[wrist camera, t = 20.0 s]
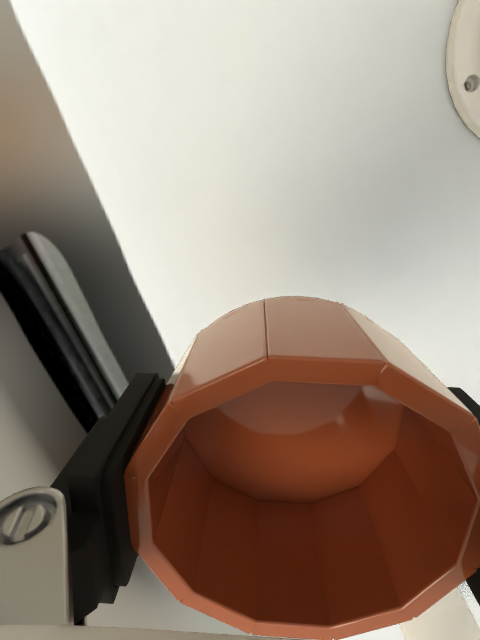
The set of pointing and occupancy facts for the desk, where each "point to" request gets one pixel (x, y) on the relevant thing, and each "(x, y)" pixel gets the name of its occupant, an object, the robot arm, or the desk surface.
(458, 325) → the desk surface
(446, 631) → the can
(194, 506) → the middle bowl
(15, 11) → the desk surface
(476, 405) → the robot arm
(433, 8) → the desk surface
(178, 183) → the desk surface
